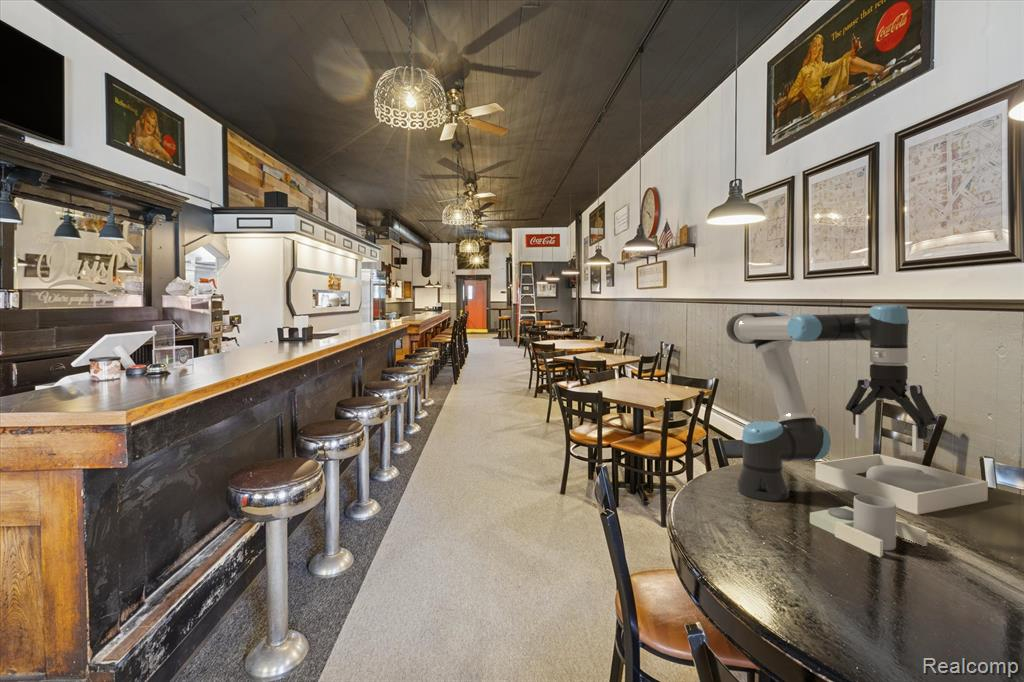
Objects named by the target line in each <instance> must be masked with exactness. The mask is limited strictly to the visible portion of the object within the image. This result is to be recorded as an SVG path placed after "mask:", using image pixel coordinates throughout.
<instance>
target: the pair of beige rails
mask: <svg viewBox="0 0 1024 682" xmlns="http://www.w3.org/2000/svg"><path fill="white" fill-rule="evenodd" d="M853 520H854V508H852V507H850V506H847V505H845V506H840V507H830V508H827V509H824V510H823V509H821V510H817V511H812V512H809V524H811V525H813V526H815V527H818V528H820V529H822V530H824V531H826V532H829V533H830V534H832V535H834V538H837V539H839V540H842V541H844V542H846V543H848V544H850V545H852V546H855V547H857V548H858V549H861V550H863V551H865V552H867V553H869V554H871V555H874V556H877V557H878V558H883V557H884V550H883V540H881V539H878V538H876V537H874V536H871V535H869V534H867V533H864V532H862V531H860V530H857V529H855V528H853ZM896 535H897V536H896V537H898V536H899V537H898V538H900V539H903V538H904V539H903V540H906V539H907V540H906V541H908V540H910V541H909V542H911V541H912V542H911V543H913V542H914V543H913V544H915V543H917V544H916V545H918V544H920V545H922V546H921V547H923V546H927V547H928V530H926V529H923V528H920V527H918V526H916V525H912V524H909V523H907V522H905V521H901V520H899V519H897V518H896ZM920 545H919V546H920ZM882 556H883V557H882Z"/></svg>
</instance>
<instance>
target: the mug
mask: <svg viewBox="0 0 1024 682" xmlns="http://www.w3.org/2000/svg"><path fill="white" fill-rule="evenodd" d="M853 509H854V520H853V528H855V529H857V530H860V531H862V532H864V533H867V534H869V535H871V536H874V537H876V538H878V539H881V540H883V551H893V550H895V549H896V548H897V536H896V519H897V507H896V504H895V503H894V502H892V501H890V500H888V499H885V498H882V497H878V496H873V495H860V494H856V495H854V497H853Z"/></svg>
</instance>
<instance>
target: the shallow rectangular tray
mask: <svg viewBox="0 0 1024 682" xmlns="http://www.w3.org/2000/svg"><path fill="white" fill-rule="evenodd" d="M878 465H895V466H903V467H910V468H915V469H919V470H922V471H923V472H924V473H927V474H930V475H933V476H935V477H938V478H940V479H941V480H943V481H944V482H945V483H946V484H947V488H943V489H937V490H932V491H926V492H921V493H914V492H911V491H908V490H904V489H901V488H898V487H895V486H891V485H888V484H885V483H882V482H879V481H875V480H872V479H869V478H866V477H865V476H862V475H860V474H864V473H867V470H868V469H869V468H871V467H873V466H878ZM858 474H859V475H858ZM814 479H815V480H817V481H820V482H823V483H825V484H829V485H832V486H834V487H836V488H840V489H843V490H845V489H846V491H848V490H849V491H848V492H852V493H855V494H856V495H873V496H878V497H882V498H885V499H888V500H890V501H892V502H894V503H895V504H896V509H899V510H904V511H905V512H908V513H911V514H914V515H922V514H927V513H932V512H938V511H942V510H948V509H953V508H957V507H962V506H968V505H973V504H978V503H982V502H988V495H989V494H988V492H989V489H988V488H989V482H988V480H987V481H986V480H983V479H980V478H974V477H970V476H966V475H963V474H958V473H954V472H951V471H948V470H943V469H939V468H935V467H931V466H927V465H923V464H920V463H915V462H912V461H908V460H904V459H900V458H897V457H892V456H888V455H884V454H881V453H880V454H879V453H875V454H868V455H861V456H854V457H847V458H841V459H833V460H826V461H818V462H815V478H814Z"/></svg>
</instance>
